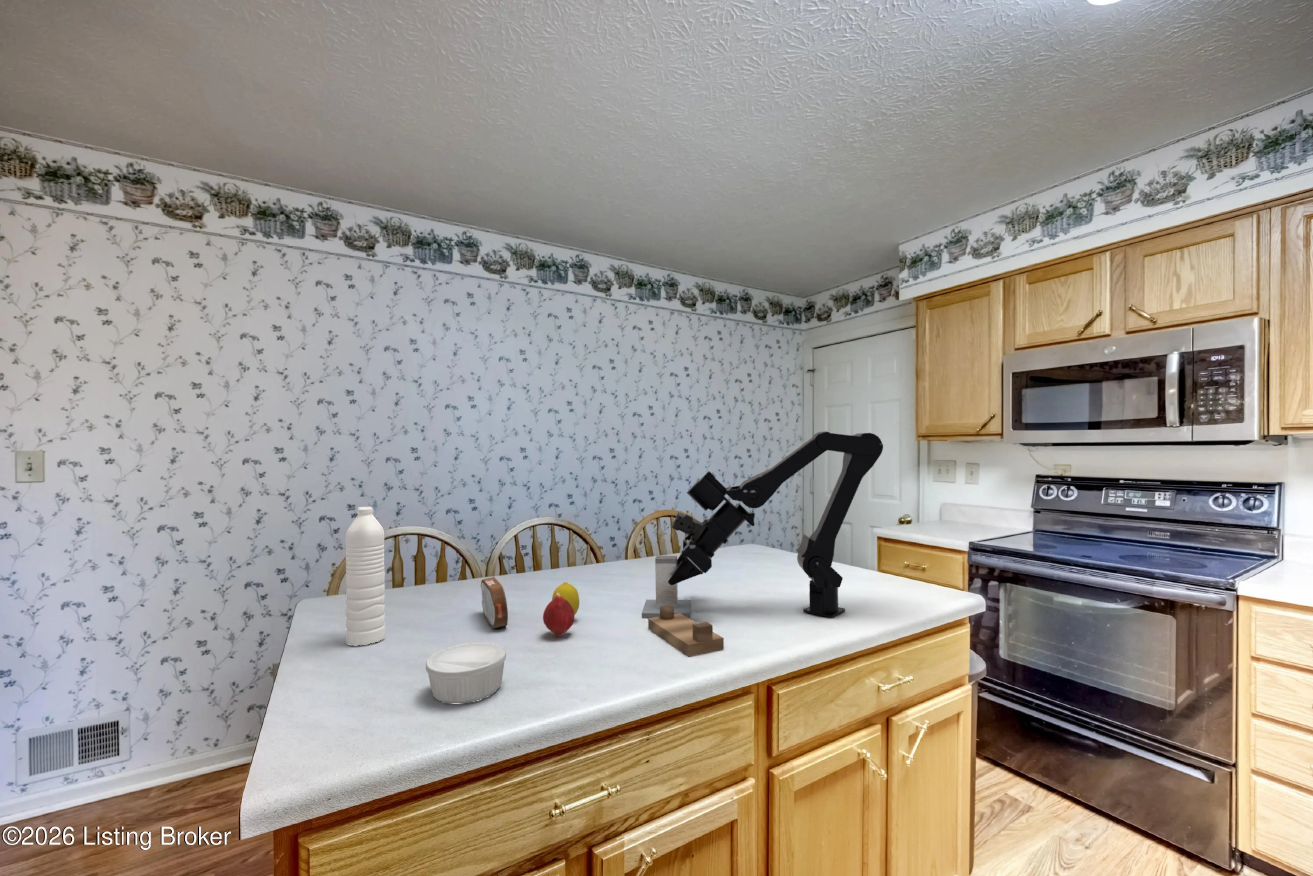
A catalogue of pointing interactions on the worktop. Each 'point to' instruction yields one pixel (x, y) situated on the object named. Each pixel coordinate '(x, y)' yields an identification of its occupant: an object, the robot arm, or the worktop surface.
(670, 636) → the body
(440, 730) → the worktop surface
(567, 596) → the lemon
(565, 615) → the onion
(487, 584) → the tin
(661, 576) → the lever cap
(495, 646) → the ramekin
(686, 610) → the mat
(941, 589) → the worktop surface
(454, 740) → the worktop surface
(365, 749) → the worktop surface
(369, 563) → the water bottle
